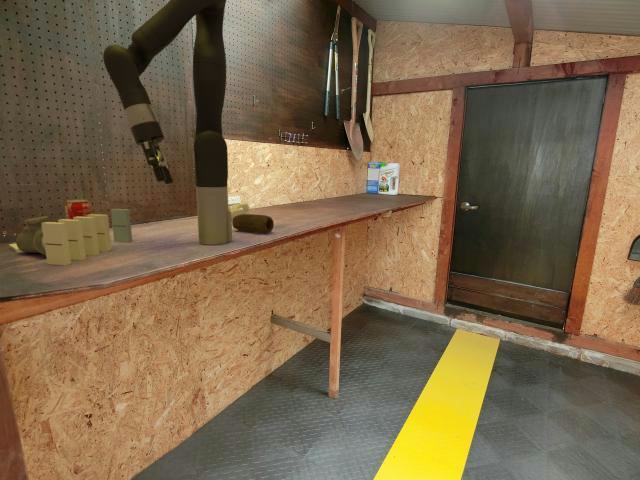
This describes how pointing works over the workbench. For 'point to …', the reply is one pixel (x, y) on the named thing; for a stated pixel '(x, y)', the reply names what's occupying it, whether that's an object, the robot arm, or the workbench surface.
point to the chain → (237, 211)
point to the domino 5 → (121, 225)
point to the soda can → (77, 208)
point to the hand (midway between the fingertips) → (166, 182)
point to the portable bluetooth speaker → (253, 223)
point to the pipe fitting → (32, 236)
